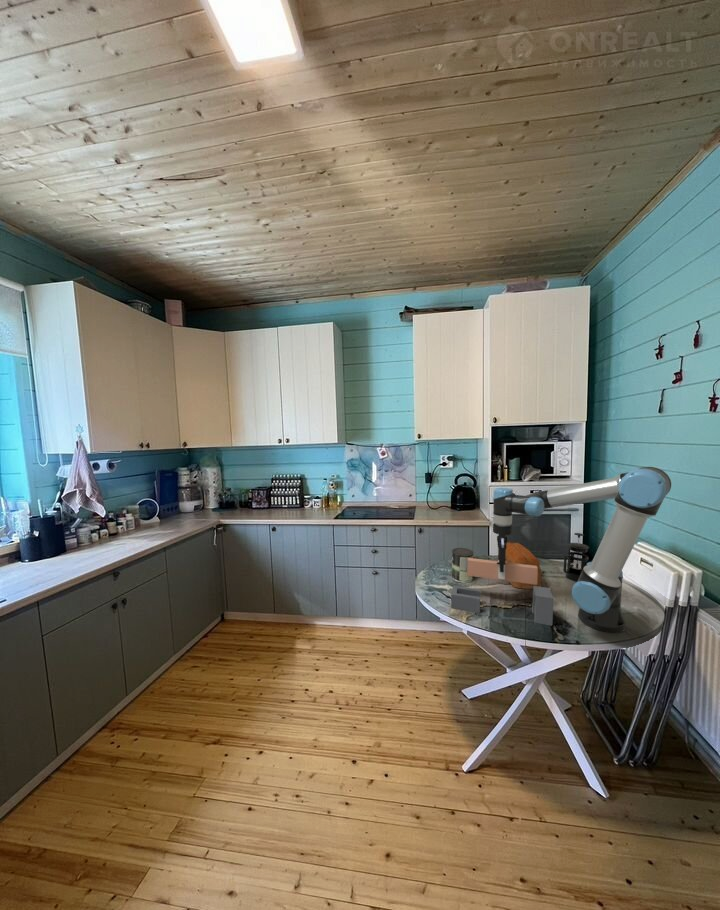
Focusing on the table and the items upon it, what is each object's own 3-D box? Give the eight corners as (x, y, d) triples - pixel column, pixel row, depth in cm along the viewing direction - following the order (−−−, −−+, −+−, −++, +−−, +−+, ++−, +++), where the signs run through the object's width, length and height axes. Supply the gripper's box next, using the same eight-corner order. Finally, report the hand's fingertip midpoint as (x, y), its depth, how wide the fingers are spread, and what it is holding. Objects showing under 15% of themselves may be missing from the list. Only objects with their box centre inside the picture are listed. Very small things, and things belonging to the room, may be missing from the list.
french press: (581, 574, 182) (583, 530, 180) (593, 582, 173) (596, 536, 171) (558, 574, 182) (560, 530, 180) (569, 582, 173) (572, 536, 171)
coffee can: (448, 580, 175) (449, 552, 174) (454, 572, 184) (455, 546, 183) (469, 584, 170) (470, 556, 169) (474, 577, 179) (475, 550, 178)
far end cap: (480, 602, 153) (480, 589, 152) (479, 613, 144) (480, 599, 144) (452, 598, 157) (453, 585, 156) (450, 608, 148) (451, 594, 148)
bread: (521, 567, 192) (523, 540, 190) (543, 590, 165) (545, 558, 164) (495, 566, 193) (496, 539, 191) (512, 588, 166) (514, 557, 165)
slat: (536, 581, 150) (536, 565, 149) (537, 584, 147) (537, 568, 147) (467, 572, 159) (467, 557, 159) (467, 575, 157) (467, 560, 156)
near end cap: (548, 613, 144) (549, 588, 143) (552, 625, 136) (553, 598, 135) (532, 611, 146) (533, 585, 145) (534, 622, 138) (536, 595, 137)
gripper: (492, 518, 160) (491, 568, 162) (493, 528, 145) (492, 583, 147) (510, 520, 158) (509, 570, 159) (513, 529, 143) (511, 585, 144)
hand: (501, 576), depth 153 cm, fingers closed on slat, 3 cm apart
